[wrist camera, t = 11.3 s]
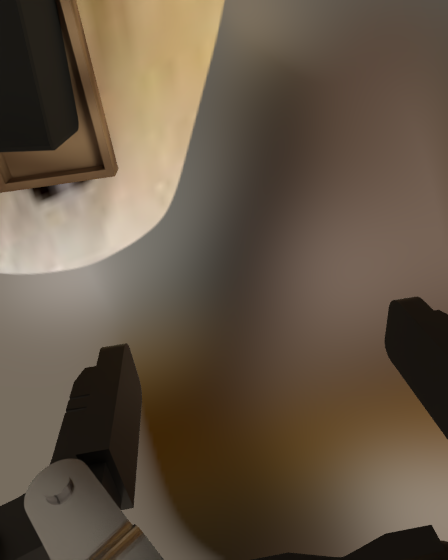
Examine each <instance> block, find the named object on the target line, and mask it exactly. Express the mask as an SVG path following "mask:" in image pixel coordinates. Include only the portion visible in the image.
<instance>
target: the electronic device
mask: <svg viewBox="0 0 448 560" xmlns="http://www.w3.org/2000/svg"><path fill="white" fill-rule="evenodd" d="M78 129H79V121H78V115H77V109H76V104H75V99H74V93H73V88H72V83H71V77H70V72H69V67H68V61H67V56H66V51H65V45H64V40H63V35H62V29H61V24H60V19H59V13H58V8H57V4H56V0H0V152H26V151H53V150H56V149H57V148H58V147H59V146H61V145H62V144H63V143H64V142H65V141H66V140H68V139H69V138H70V137H71V136H72V135H73V134H75V133H76V132H77V131H78Z"/></svg>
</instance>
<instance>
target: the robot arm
mask: <svg viewBox="0 0 448 560" xmlns="http://www.w3.org/2000/svg"><path fill="white" fill-rule="evenodd" d="M385 348H386V352H387V354H388V357H389V358H390V360H391V362H392V363H393V364H394V366H395V367H396V369H397V370H398V371H399V372H400V374H401V375H402V377H403V378H404V379H405V381H406V382H407V384H408V385H409V386H410V388H411V389H412V391H413V392H414V393H415V395H416V396H417V398H418V399H419V400H420V402H421V403H422V405H423V406H424V407H425V409H426V410H427V411H428V413H429V414H430V416H431V417H432V418H433V420H434V421H435V423H436V424H437V425H438V427H439V428H440V429H441V431H442V432H443V434H444V435H445V436H446V438H447V439H448V315H447V314H446V313H444V312H442V311H440V310H435V311H434V310H433V309H432V308H430V306H429V305H428V304H427V303H426V302H424V301H423V300H422V299H421V298H420V297H411V298H404V299H398V300H393V301H391V303H390V305H389V311H388V319H387V327H386V334H385ZM141 405H142V392H141V385H140V381H139V377H138V374H137V371H136V367H135V364H134V361H133V358H132V354H131V351H130V348H129V346H128V344H120V345H114V346H109V347H102V348H101V349H100V352H99V358H98V361H97V365H96V366H94V367H88V368H85V369H84V370H83V371H82V373H81V374H80V375H79V376H78V378H77V379H76V380H75V382H74V384H73V388H72V391H71V394H70V400H69V401H68V405H67V408H66V413H65V415H64V419H63V422H62V426H61V429H60V432H59V436H58V439H57V443H56V446H55V450H54V453H53V457H52V460H51V463H50V465H49V466H47V467H46V468H45V469H43V470H42V471H41V472H40V473H39V474H38V475H37V476H36V477H35V478H34V479H33V481H32V482H31V484H30V485H29V487H28V489H27V491H26V493H25V494H23V495H22V496H20V497H18V498H16V499H15V500H12V501H10V502H8V503H6V504H4V505H2V506H0V560H164V559H163V558H162V557H161V555H160V554H159V553H158V551H157V550H156V549H155V547H154V546H153V545H152V544H151V542H150V541H149V540H148V538H147V537H146V536H145V535H144V533H143V532H142V531H141V530H140V528H139V527H138V526H137V525H135V524H134V525H132V524H131V523H130V522H129V520H128V519H127V518H126V516H125V515H124V514H123V513H122V511H121V510H124V509H129V508H133V507H134V495H135V482H136V469H137V457H138V444H139V431H140V418H141ZM253 560H448V542H446V541H440V539H439V538H438V536H437V534H436V532H435V530H434V529H433V527H432V525H428V526H423V527H418V528H413V529H407V530H403V531H397V532H392V533H387V534H384V535H382V536H380V537H379V538H377V539H375V540H373V541H372V542H370V543H368V544H366V545H364V546H363V547H361V548H359V549H357V550H356V551H354V552H352V553H350V554H348V555H347V556H344V557H326V556H317V555H307V554H297V553H284V554H279V555H273V556H268V557H263V558H259V559H253Z"/></svg>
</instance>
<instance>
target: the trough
mask: <svg viewBox="0 0 448 560" xmlns="http://www.w3.org/2000/svg"><path fill="white" fill-rule="evenodd" d="M56 4H57V8H58V13H59V19H60V24H61V29H62V35H63V40H64V45H65V51H66V56H67V61H68V67H69V72H70V77H71V83H72V88H73V93H74V99H75V104H76V109H77V115H78V121H79V129H78V131H77V132H76V133H75V134H73V135H72V136H71V137H70V138H69V139H68V140H66V141H65V142H64V143H63V144H62V145H61V146H59V147H58V148H57V149H56V150H53V151H26V152H0V193H2V192H8V191H15V190H22V189H29V188H36V187H43V186H50V185H57V184H64V183H71V182H78V181H85V180H92V179H99V178H106V177H112V176H115V175H116V173H117V170H118V166H117V162H116V158H115V154H114V150H113V146H112V142H111V138H110V134H109V130H108V127H107V123H106V119H105V115H104V111H103V107H102V103H101V99H100V95H99V91H98V87H97V83H96V79H95V75H94V71H93V67H92V63H91V59H90V55H89V51H88V47H87V43H86V39H85V35H84V31H83V27H82V23H81V19H80V15H79V11H78V7H77V3H76V0H56Z"/></svg>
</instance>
